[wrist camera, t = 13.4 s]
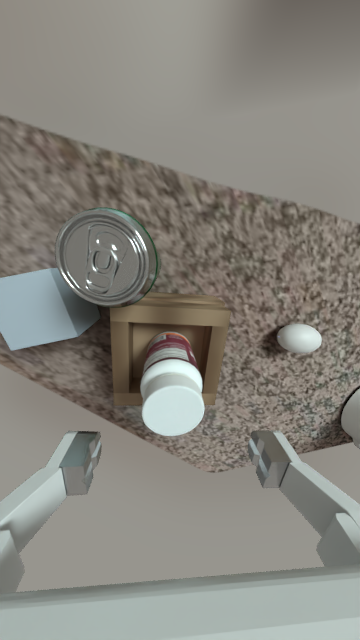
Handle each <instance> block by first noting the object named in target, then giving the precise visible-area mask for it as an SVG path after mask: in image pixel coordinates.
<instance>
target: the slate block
mask: <svg viewBox="0 0 360 640" xmlns="http://www.w3.org/2000/svg"><path fill="white" fill-rule="evenodd" d="M100 318H101V316H100V313H99V310H98V308H97V305H96V304H94V303H92V302H89V301H87V300H85V299H83V298H81V297H80V296H78V295H77V294H76V293H75V292H73V291H72V290H71V289H70V288H69V287H68V285H67V284H66V283H65V281H64V280H63V278H62V276H61V275H60V272H59V270H58V268H52V269H45V270H40V271H34V272H29V273H24V274H19V275H14V276H9V277H4V278H0V332H1V334H2V335H3V337H4V339H5V341H6V342H7V344H8V346H9V348H10V349H11V351H12V350H17V349H22V348H26V347H31V346H36V345H41V344H46V343H50V342H55V341H60V340H65V339H70V338H74V337H78V336H79V335H81V334H82V333H83V332H84V331H85V330H87V329H88V328H89V327H90V326H91V325H93V324H94V323H95V322H96V321H97V320H99V319H100Z"/></svg>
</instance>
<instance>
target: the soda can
mask: <svg viewBox="0 0 360 640" xmlns="http://www.w3.org/2000/svg"><path fill="white" fill-rule="evenodd" d="M55 259H56V264H57V267H58V270H59V272H60V275H61V276H62V278H63V280H64V281H65V283H66V284H67V285H68V287H69V288H70V289H71V290H72V291H73V292H75V293H76V294H77V295H78V296H80V297H81V298H83V299H85V300H87V301H89V302H92V303H94V304H97V305H99V306H103V307H109V308H121V307H126V306H129V305H132V304H134V303H136V302H138V301H139V300H141V299H142V298H143V297H144V296H145V295H146V294H147V293H148V292H149V291H150V289H151V287H152V286H153V284H154V282H155V281H156V279H157V277H158V275H159V273H160V269H161V259H160V256H159V253H158V251H157V249H156V247H155V245H154V243H153V241H152V239H151V237H150V235H149V234H148V232H147V231H146V230H145V228H144V227H143V226H142V225H141V224H140V223H139V222H138V221H137V220H136V219H134V218H133V217H132V216H130V215H128V214H126V213H124V212H122V211H119V210H116V209H112V208H93V209H89V210H86V211H83V212H81V213H78V214H76V215H74V216H73V217H71V218H70V219H69V220H68V221H67V222H66V223H65V224H64V225H63V226H62V228H61V229H60V231H59V234H58V236H57V239H56V243H55Z"/></svg>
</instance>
